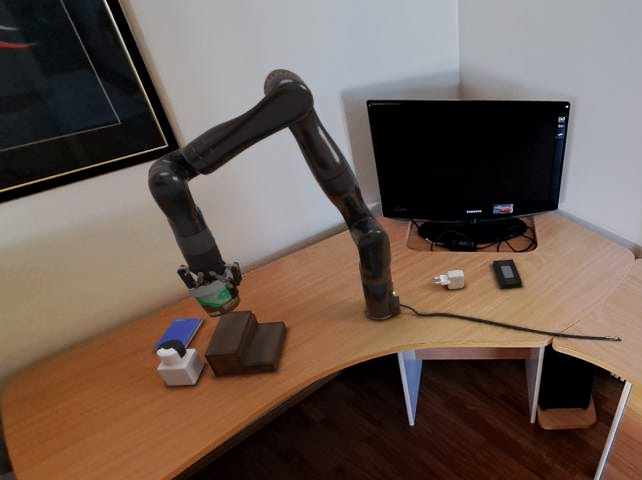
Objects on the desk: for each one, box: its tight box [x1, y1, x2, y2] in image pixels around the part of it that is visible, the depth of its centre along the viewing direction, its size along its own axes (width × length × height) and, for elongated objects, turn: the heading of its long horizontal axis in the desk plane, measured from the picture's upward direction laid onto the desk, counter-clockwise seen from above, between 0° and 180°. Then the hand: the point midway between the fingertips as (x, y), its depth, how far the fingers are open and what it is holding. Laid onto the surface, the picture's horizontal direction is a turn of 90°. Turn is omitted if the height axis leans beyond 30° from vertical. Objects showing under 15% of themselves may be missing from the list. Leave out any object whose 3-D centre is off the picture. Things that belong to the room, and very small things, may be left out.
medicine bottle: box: [155, 340, 205, 387], centre depth 120 cm, size 7×7×12 cm
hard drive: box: [153, 318, 204, 352], centre depth 134 cm, size 2×8×12 cm
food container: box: [188, 269, 241, 318], centre depth 115 cm, size 12×6×10 cm, turn 170°
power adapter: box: [431, 269, 465, 290], centre depth 155 cm, size 11×5×6 cm, turn 102°
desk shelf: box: [203, 309, 287, 378], centre depth 128 cm, size 16×17×9 cm
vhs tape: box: [492, 258, 523, 290], centre depth 162 cm, size 8×14×2 cm, turn 11°
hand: (221, 297), depth 117 cm, fingers closed on food container, 6 cm apart
